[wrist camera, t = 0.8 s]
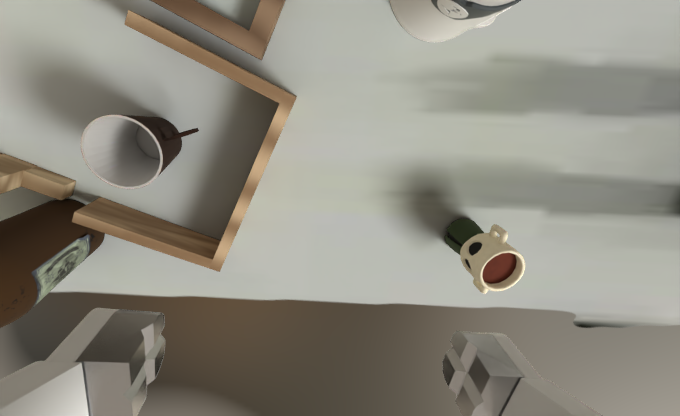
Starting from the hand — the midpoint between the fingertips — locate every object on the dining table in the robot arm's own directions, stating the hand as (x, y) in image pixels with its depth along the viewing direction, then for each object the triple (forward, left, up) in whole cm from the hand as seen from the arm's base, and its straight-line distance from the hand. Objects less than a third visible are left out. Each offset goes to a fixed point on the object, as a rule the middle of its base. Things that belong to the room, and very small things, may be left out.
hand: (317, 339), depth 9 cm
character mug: (+4, +33, -42) cm, 54 cm away
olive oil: (+29, -26, -42) cm, 57 cm away
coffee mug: (+10, -17, -42) cm, 46 cm away
